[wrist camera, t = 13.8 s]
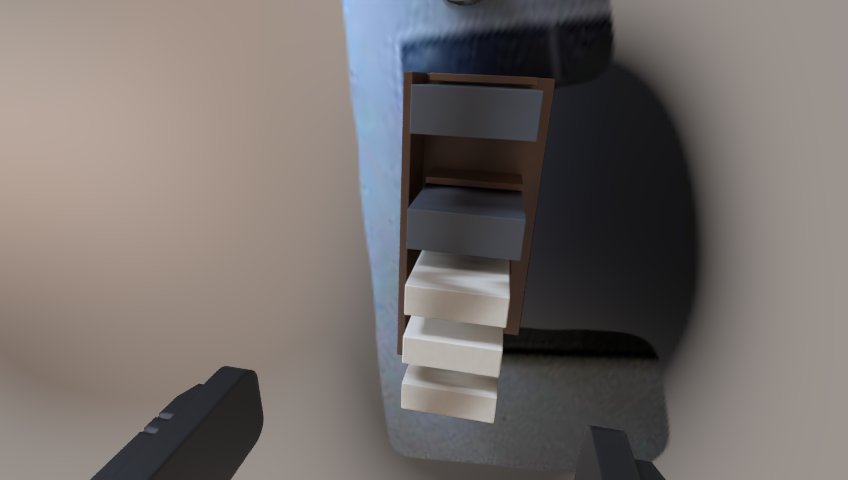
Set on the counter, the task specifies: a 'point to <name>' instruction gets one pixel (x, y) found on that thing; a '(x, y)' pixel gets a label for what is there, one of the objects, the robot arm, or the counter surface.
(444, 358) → the white book
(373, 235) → the counter surface
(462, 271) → the book rack
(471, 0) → the stone chess piece
